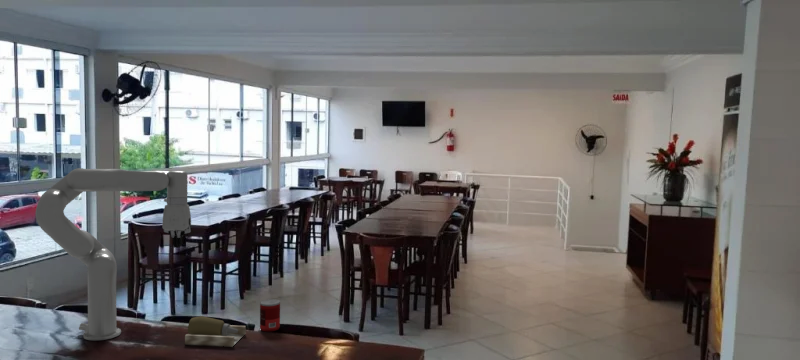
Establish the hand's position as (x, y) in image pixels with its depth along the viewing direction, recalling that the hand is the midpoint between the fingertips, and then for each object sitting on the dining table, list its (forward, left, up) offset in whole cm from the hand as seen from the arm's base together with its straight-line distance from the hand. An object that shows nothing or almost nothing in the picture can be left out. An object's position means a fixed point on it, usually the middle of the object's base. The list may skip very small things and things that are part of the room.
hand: (177, 247), depth 220 cm
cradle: (+22, -14, -32) cm, 41 cm away
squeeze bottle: (+12, -14, -27) cm, 33 cm away
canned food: (+38, +1, -32) cm, 50 cm away
